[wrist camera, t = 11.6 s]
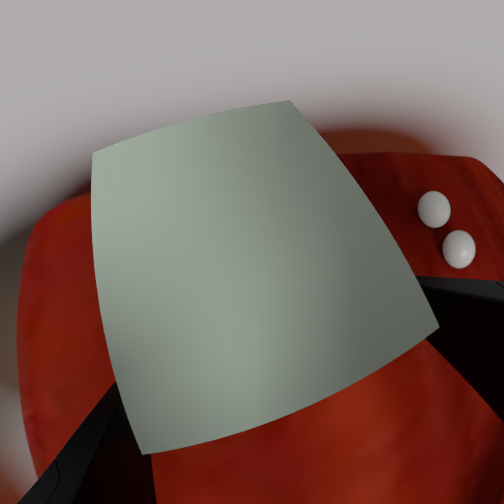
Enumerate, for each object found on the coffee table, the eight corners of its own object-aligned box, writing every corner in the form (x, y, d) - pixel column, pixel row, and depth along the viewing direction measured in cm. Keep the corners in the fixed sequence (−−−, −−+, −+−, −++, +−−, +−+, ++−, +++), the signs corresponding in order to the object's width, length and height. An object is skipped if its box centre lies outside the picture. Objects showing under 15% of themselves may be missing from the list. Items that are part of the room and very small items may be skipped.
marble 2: (462, 253, 18) (483, 236, 16) (458, 280, 17) (480, 265, 14) (439, 235, 19) (458, 216, 16) (432, 262, 18) (454, 244, 15)
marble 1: (440, 217, 20) (458, 197, 17) (435, 240, 19) (455, 221, 16) (415, 199, 21) (430, 177, 18) (408, 221, 19) (425, 200, 17)
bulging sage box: (328, 363, 14) (439, 327, 5) (207, 409, 13) (142, 454, 4) (269, 235, 18) (289, 100, 9) (162, 270, 17) (92, 153, 8)
